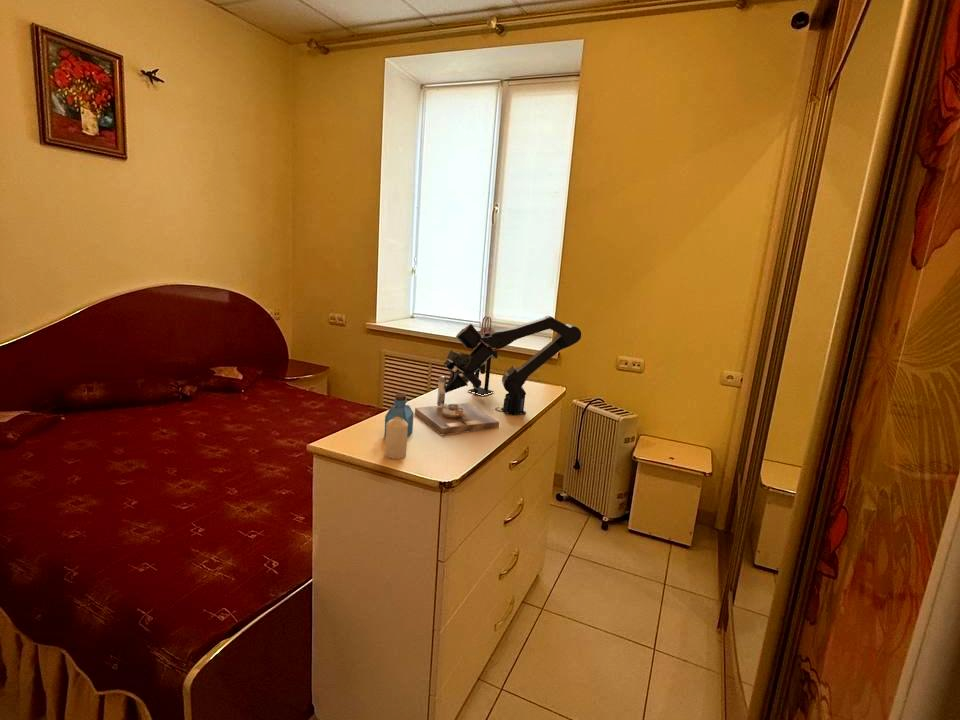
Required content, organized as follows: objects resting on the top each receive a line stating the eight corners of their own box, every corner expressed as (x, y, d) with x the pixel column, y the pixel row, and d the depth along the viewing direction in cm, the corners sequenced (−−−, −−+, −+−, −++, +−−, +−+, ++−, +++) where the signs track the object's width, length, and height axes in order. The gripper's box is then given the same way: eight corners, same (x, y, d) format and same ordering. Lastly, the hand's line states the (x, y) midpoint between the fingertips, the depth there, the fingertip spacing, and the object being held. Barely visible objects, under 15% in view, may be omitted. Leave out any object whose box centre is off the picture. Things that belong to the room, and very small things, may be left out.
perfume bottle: (405, 440, 139) (407, 399, 137) (384, 437, 140) (386, 396, 138) (412, 433, 145) (414, 393, 143) (392, 429, 146) (394, 390, 144)
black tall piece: (479, 397, 187) (487, 318, 181) (465, 392, 192) (471, 315, 185) (496, 392, 195) (503, 317, 189) (481, 388, 200) (488, 314, 193)
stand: (467, 408, 172) (468, 401, 172) (498, 427, 156) (499, 420, 155) (414, 413, 162) (415, 406, 162) (441, 434, 146) (442, 426, 145)
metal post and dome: (447, 404, 167) (449, 374, 165) (473, 422, 151) (476, 389, 149) (430, 405, 164) (432, 375, 162) (454, 424, 148) (457, 391, 146)
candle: (385, 450, 131) (387, 414, 129) (406, 451, 132) (408, 415, 130) (383, 458, 126) (385, 421, 124) (405, 459, 126) (407, 422, 124)
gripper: (451, 336, 171) (419, 368, 168) (476, 348, 155) (441, 384, 152) (469, 358, 177) (438, 389, 174) (495, 372, 161) (462, 406, 158)
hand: (444, 391), depth 164 cm, fingers closed, pressing on metal post and dome
